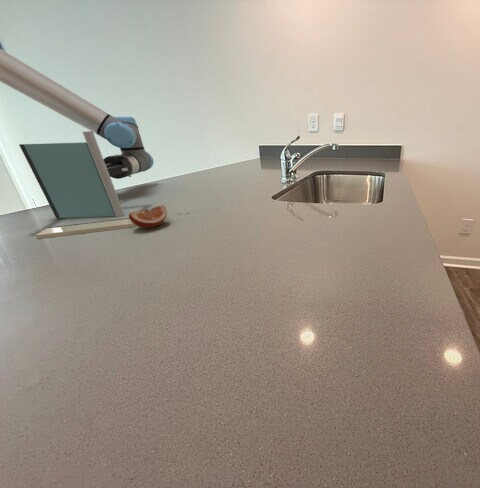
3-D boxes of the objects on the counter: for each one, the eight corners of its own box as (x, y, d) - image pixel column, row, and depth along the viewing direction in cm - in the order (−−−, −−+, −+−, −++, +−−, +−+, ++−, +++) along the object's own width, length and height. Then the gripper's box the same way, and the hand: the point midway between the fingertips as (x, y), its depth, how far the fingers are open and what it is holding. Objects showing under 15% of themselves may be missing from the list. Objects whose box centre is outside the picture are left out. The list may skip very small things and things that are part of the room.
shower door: (56, 218, 70) (18, 144, 62) (82, 207, 79) (52, 141, 71) (114, 215, 72) (84, 142, 63) (133, 205, 80) (109, 139, 72)
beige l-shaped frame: (37, 239, 62) (-21, 135, 52) (71, 217, 75) (30, 132, 65) (133, 227, 67) (98, 131, 57) (149, 209, 81) (122, 129, 71)
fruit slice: (163, 219, 72) (157, 202, 70) (176, 224, 69) (171, 206, 66) (130, 229, 66) (122, 211, 64) (142, 235, 62) (135, 215, 60)
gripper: (146, 176, 93) (99, 192, 71) (103, 177, 92) (43, 194, 71) (138, 154, 89) (88, 164, 68) (94, 155, 88) (28, 166, 67)
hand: (65, 180), depth 69 cm, fingers closed on shower door, 2 cm apart
